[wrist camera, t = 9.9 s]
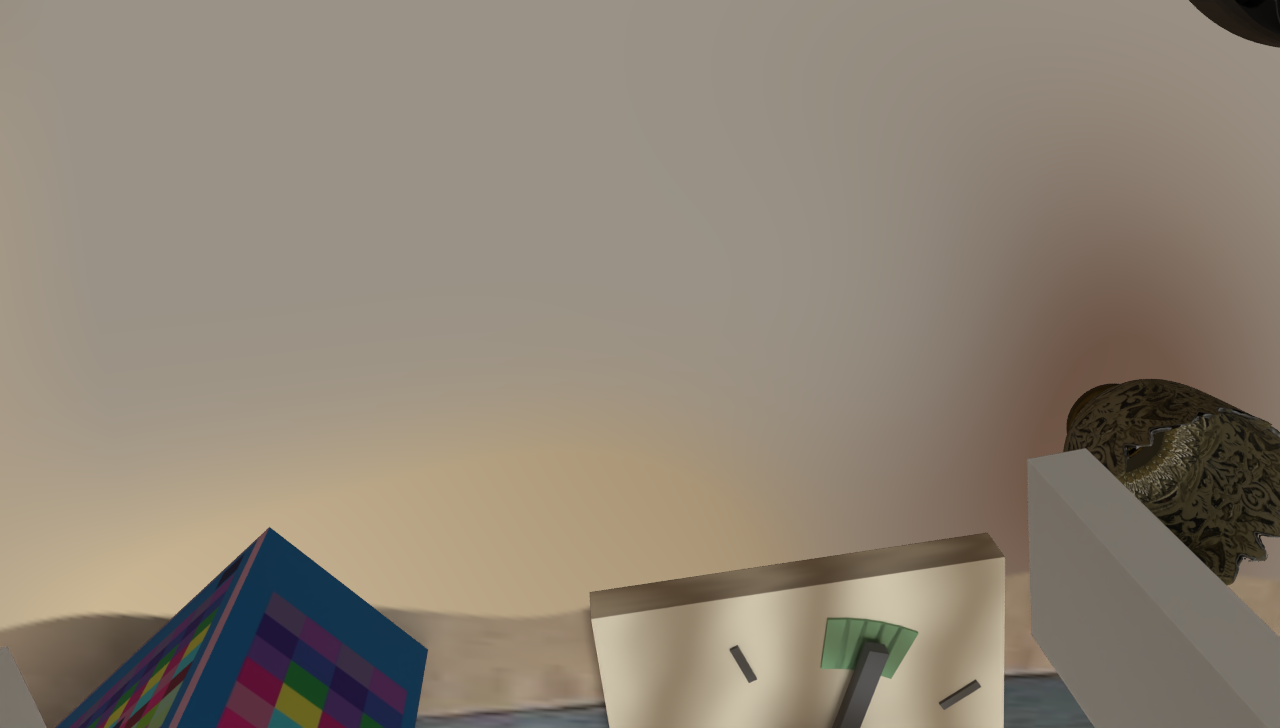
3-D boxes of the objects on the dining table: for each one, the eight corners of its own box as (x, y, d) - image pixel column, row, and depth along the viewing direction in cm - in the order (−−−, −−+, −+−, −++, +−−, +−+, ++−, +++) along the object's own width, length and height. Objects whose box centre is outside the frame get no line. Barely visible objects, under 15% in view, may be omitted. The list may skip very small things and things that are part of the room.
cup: (1215, 358, 46) (1343, 441, 38) (1141, 506, 48) (1248, 611, 41) (1058, 318, 44) (1159, 397, 37) (990, 473, 47) (1073, 575, 40)
